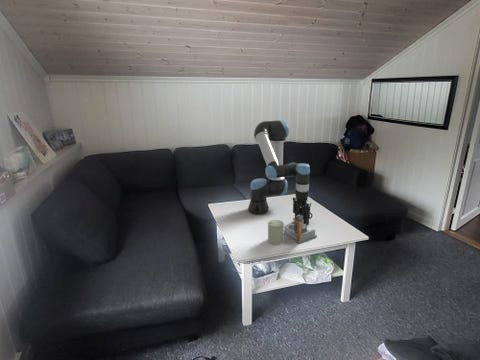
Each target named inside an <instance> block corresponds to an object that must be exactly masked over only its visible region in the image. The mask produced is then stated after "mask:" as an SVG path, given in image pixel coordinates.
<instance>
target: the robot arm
mask: <svg viewBox="0 0 480 360" xmlns="http://www.w3.org/2000/svg"><path fill="white" fill-rule="evenodd" d="M289 135H290V129H289V124H288V123H287V122H286V121H285V120H268V121H267V120H264V121H262V122H259V123H258V124H257V125H256V126H255V129H254V133H253V136H254V137H253V138H254V139H255V142H256V143H258V146H259V148H260V151H261V154H262V156H263V160H264V161H265V164H266V167H265V176H266V178H267V179H268V180H267V179H266V178H263V177H262V178H255V179H253V180H252V181H251V182H250V187H249V188H250V194H249V195H250V200H249V205H248V206H247V207H248V208H247V210H248V213H249V214H253V215H264V214H268V213H269V211H270V207H269V205H268V200H267V198H268V197H280V196H283V195H285V194H287V191H288V186H289V185H288V181H287V179H285V178H290V177H291V178H292V177H293V178H294V177H295V197H292V213H293V214H294V218H295V217H298V216H300V215H299V214H300V213H299V212H300V208H302V213H303V218H302V229H304V228H306V224H307V219H309V218H310V217H311V214H310V213H311V206H312V202H309V201H308V198H309V193H310V192H309V190H310V174H311V168H310V167H311V166H310V165H309V163H304V162H303V163H301V162H300V163H297V162H293V161H292V162H290V163H288V164H284V143H285V142H286V141H287V140H286V139H287V138H288V137H289ZM309 220H310V219H309Z"/></svg>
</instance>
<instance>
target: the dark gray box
mask: <svg viewBox="0 0 480 360" xmlns="http://www.w3.org/2000/svg"><path fill="white" fill-rule="evenodd" d="M294 218H296V219H298V220H300V221H302V218H303V215H301V216H298V217H295V216H294ZM293 222H294V231H295V232H296V233H297V229H298V223H297V222H295V221H293ZM307 230H308V225H307V224H306V228H304V229H301V234H302V233H305V232H307Z"/></svg>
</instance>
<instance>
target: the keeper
mask: <svg viewBox="0 0 480 360" xmlns="http://www.w3.org/2000/svg"><path fill="white" fill-rule="evenodd" d="M292 221H293V222H294V221H295V222H297V223H298V229H297V233H296V232H295V231H294V223H291V224H288V225H284V227H283V236H284V235H285V236H286V237H288V239H290V240H293V241H294V242H296V243H297V244H302V243H304V242H308V241H310V240H313V239H316V238H317V237H318V235H317V234H316V229H312V230H308V229H307V232H305V233H302V234H301V229H302V221H300V220H298V219H296V218H295V217H294V218H293V219H292Z"/></svg>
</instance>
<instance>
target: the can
mask: <svg viewBox="0 0 480 360" xmlns="http://www.w3.org/2000/svg"><path fill="white" fill-rule="evenodd" d="M284 224H285V223H284V222H283V221H282V220H279V219H272V220H269V221H268V222H267V242H268V243H269V244H270V245H274V246H276V245H277V246H278V245H280V244H283V243H284V234H283V230H284V228H285V225H284Z"/></svg>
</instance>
